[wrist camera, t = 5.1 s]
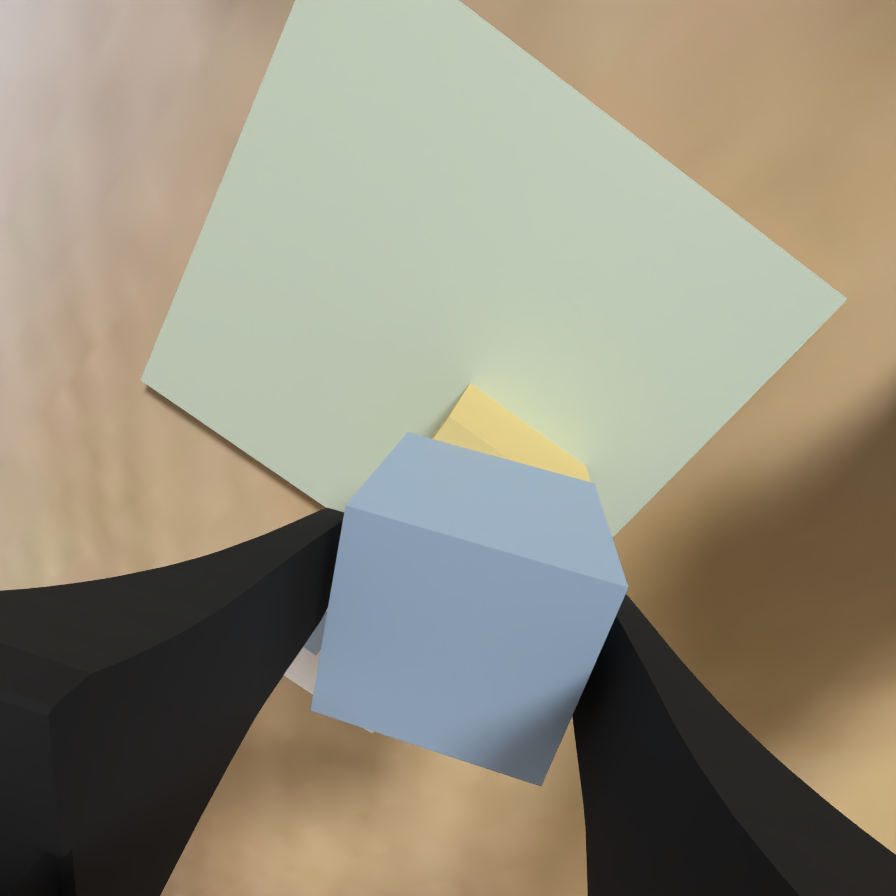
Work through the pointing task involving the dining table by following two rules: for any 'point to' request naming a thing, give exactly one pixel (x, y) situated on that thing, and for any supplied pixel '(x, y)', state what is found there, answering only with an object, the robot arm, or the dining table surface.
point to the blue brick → (468, 605)
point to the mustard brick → (503, 435)
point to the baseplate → (464, 265)
